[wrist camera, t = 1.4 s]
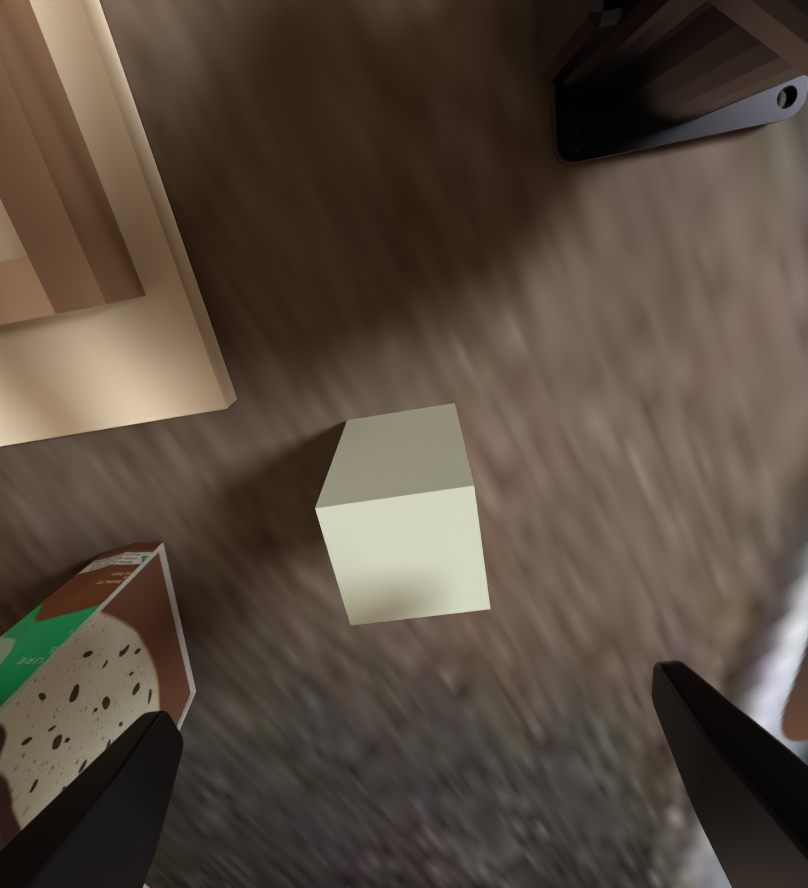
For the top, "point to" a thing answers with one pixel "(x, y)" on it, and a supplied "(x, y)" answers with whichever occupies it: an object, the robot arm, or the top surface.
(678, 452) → the top surface
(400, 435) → the pale green block
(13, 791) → the food container
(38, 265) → the post base
